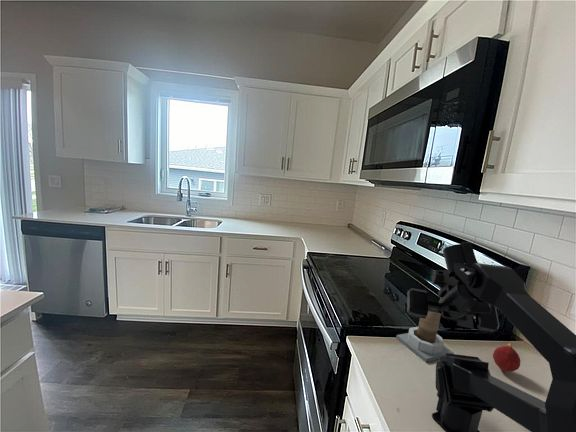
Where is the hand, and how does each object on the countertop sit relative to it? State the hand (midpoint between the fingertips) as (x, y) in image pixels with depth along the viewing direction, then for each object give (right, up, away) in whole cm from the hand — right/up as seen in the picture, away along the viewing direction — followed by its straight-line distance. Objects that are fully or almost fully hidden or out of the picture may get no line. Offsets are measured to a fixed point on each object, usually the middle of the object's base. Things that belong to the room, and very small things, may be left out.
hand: (438, 319), depth 71 cm
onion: (+20, -16, +4) cm, 25 cm away
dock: (+2, -12, +11) cm, 16 cm away
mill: (+2, -11, +11) cm, 16 cm away
